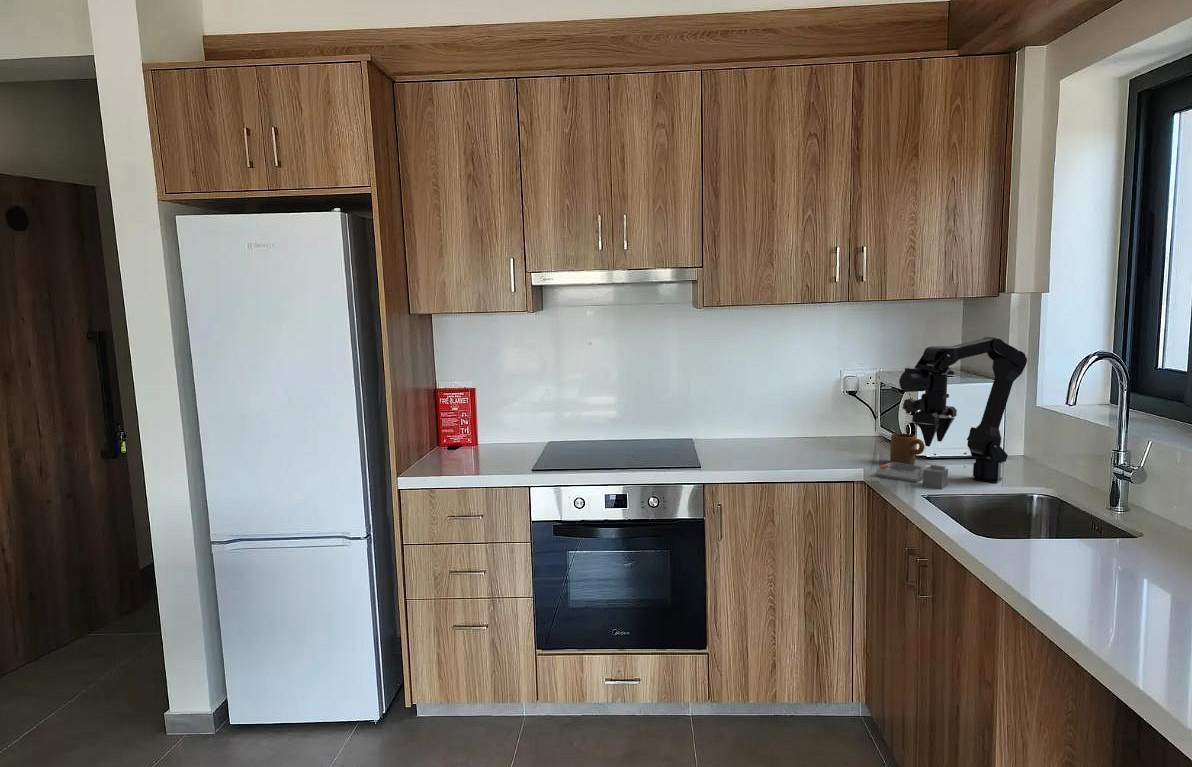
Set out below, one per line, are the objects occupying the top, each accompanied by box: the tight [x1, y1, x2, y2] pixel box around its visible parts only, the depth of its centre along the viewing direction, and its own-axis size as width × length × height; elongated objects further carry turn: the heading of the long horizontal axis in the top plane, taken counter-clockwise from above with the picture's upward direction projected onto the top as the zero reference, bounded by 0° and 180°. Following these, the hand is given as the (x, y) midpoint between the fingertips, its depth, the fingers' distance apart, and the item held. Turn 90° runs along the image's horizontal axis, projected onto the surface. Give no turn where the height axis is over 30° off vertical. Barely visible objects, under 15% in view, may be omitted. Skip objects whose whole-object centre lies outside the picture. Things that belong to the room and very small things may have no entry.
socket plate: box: [876, 462, 929, 483], centre depth 228 cm, size 12×12×3 cm
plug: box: [922, 463, 949, 490], centre depth 215 cm, size 5×5×6 cm
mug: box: [889, 432, 926, 465], centre depth 241 cm, size 12×8×9 cm, turn 26°
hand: (933, 443), depth 215 cm, fingers open, 9 cm apart
